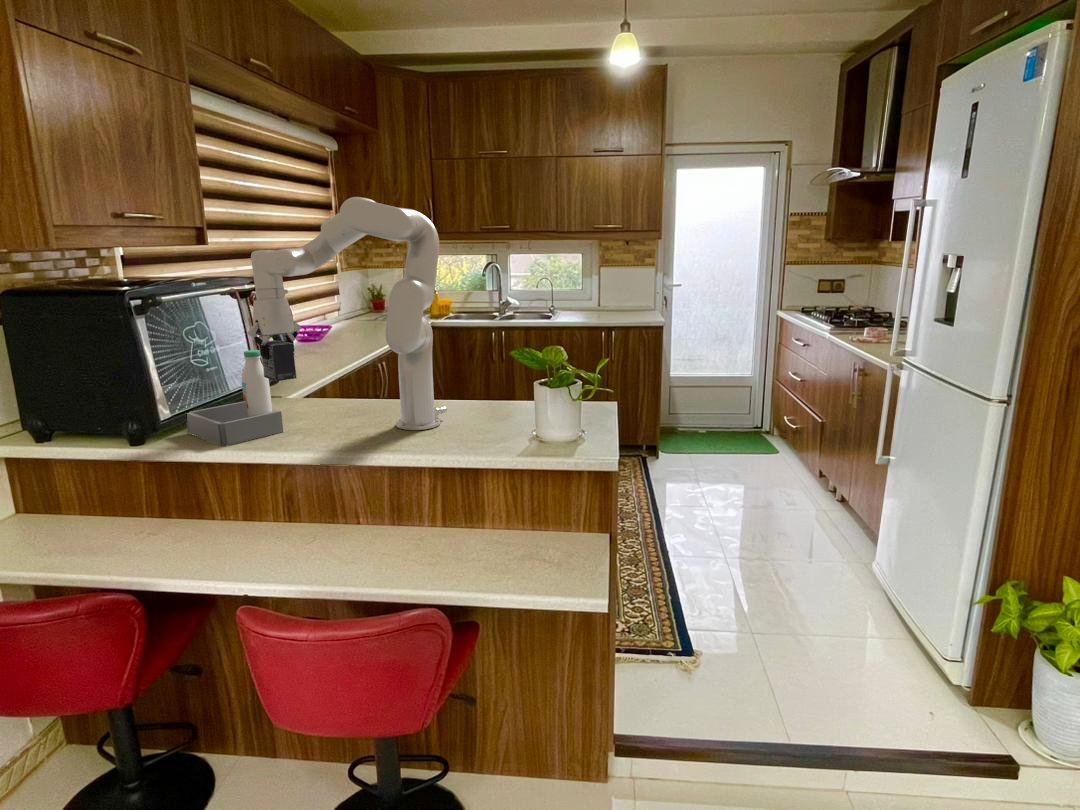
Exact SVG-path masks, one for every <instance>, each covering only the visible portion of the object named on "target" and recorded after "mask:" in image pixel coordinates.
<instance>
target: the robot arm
mask: <svg viewBox="0 0 1080 810" xmlns="http://www.w3.org/2000/svg"><path fill="white" fill-rule="evenodd" d="M367 235H368V236H373V237H376V238H381V239H384V240H388V241H392V242H407V243H408V251H407V254H406V258H405V270H404V275H403V278H401V279H399V280H398V281H396V283H394V285H393V286H392V288H391V291H390V293H389V298H388V305H387V306H388V307H387V313H386V314H387V315H386V324H385V341H386V344H387V345H388V347H389V349H391V351H393V352H394V353H395V354H398V357H397V362H398V363H397V365H398V366H397V367H398V368H397V369H398V370H397V371H398V385H399V400H400V401H399V402H400V415H401V416H400V417H401V418H400V419H398V420H397V421H396V423H395V425H396V427H397V428H398V429H401V430H406V431H407V430H408V431H423V430H429V429H430V430H431V429H433V428H437V427H438V426H440V424H441V419H440V418H439V417H438V416H439V415H443V414H445V413H447V412H448V409H447V407H446V406H445V405H444V406H440V407H437V406H435V397H434V376H433V375H434V374H433V345H434V344H433V342H434V333H433V329H432V325H431V324H430V322H429V321H428V319H427V318H425V317H424V311H425V310H427V309H428V308H430V307H431V305H432V304H433V302H434V299H435V288H436V280H437V272H438V261H439V252H440V238H439V234H438V231H437V228H436V227H435V225H434V223H433V222H432V221H431V220H430V219H429V218H428V217H427V216H426V215H424V214H423V213H421V212H420V211H417V210H415V209H411V208H403V207H396V206H393V205H388V204H384V203H379V202H376V201H375V200H373V199H370V198H367V197H360V196H353V197H350V198H347V199H346V200H345V201H343V203H342V204H341V206H340V208H339V212H337V213H336V214H335V215H333V216H332V217H330V218H329V219H327V220H325V221H323V223H322V224H321V225H320V232H319V234H318V235H317V236H316V237H315V238H314V239H312V240H310V241H309V242H307V243H306V244H304V245H302V246H301V247H299V248H298V247H295V248H291V247H290V248H282V249H277V250H273V249H266V250H265V249H264V250H261V249H260V250H255V251H252V252H251V255H250V260H251V267H252V275H253V283H254V288H255V289H254V291H255V296H256V300H254V301H253V305H252V318H253V319H252V323H253V324H252V326H251V327H250V328H249V330H247V333H246V334H247V336H248V337H249V338H250V339H251V340H252V341H254V342H255V343H256V345H257V346H259V347H258V348H259V351H260V357H261V359H269V358H270V357H269V349H268V345H266V342H267V341H268V339H269V336H277V335H283V337H284V338H285V342H289V343H293V350H294V351H295V346H294V345H295V344H294V342H295V340H296V338H297V336H298V335H299V332H300V331H301V329H302V326H301V325H300V324H299V323H297V322H296V321H295V320H293V315H292V310H291V307H290V304H289V301H288V298H286V295H289V291H288V289H287V288H286V289H285V287H284V281H283V280H284V279H283V277H296V276H305V275H309V274H311V273H313V272H314V271H316V270H318V269H319V268H321V267H322V266H324V265H325V264H328V263H329V262H331V260H333V259H334V258H335V257H337V255H339V254H340V253H341V251H342V250H345V249H346V248H347V247H350V246H351V245H353V244H354V243H355V242H357V241H359V240H361V239H362V238H364V237H365V236H367Z"/></svg>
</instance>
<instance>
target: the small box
mask: <svg viewBox="0 0 1080 810" xmlns="http://www.w3.org/2000/svg"><path fill="white" fill-rule="evenodd" d="M285 341H286V340H285ZM285 341H284V340H270V341H268V340H267V342H266V345H268V349H269V357H270V358H269V359H262V358H261V359H262V365H263V369H264V377H266V378H268V379H269V380H271V381H274V382H280V381H286V380H287V381H288V380H294V379H297V369H296V362H295V349H294V350H293V343H294V342H293V343H289V342H285Z"/></svg>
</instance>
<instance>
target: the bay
mask: <svg viewBox="0 0 1080 810" xmlns="http://www.w3.org/2000/svg"><path fill="white" fill-rule="evenodd" d="M185 424H186V430H187V433H188V432H189V433H191V434H194V435H196V436H198V437H200V438H199V439H201V438H203V439H202V440H204V439H205V441H206V440H208V441H207V442H209V441H210V442H209V443H212V442H213V443H212V444H214V443H215V445H217V444H218V445H217V446H220V445H221V446H220V447H222V446H224V447H228V446H232V445H236V444H240V442H241V443H245V442H248V440H249V441H253V440H256V438H257V439H260V437H261V438H264V437H263V436H265V437H269V436H272V434H274V435H276V433H278V434H281V433H280V432H282V433H284V425H283V415H282V410H277V411H272V412H271V413H266V414H262V415H257V416H252V417H248V411H247V402H246V401H244V400H243V401H238V402H232V403H227V404H223V405H218V406H217V405H216V406H213V407H207V408H201V409H197V410H193V411H189V413H187V423H186V422H185ZM268 435H269V436H268ZM196 436H195V437H196ZM198 437H197V438H198ZM252 439H253V440H252ZM244 441H245V442H244ZM231 444H232V445H231ZM227 445H228V446H227Z"/></svg>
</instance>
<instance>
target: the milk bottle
mask: <svg viewBox="0 0 1080 810" xmlns="http://www.w3.org/2000/svg"><path fill="white" fill-rule="evenodd" d="M243 356H244V359H245V363H244V367H243V370H242V373H241V388H242V397H243V401H246V402H247V411H248V417H252V416H257V415H262V414H266V413H271V412H273V406H272V396H271V389H270V388H271V387H270V381H269V380H270V379H268V378H266V377H264V369H263V362H262V361H261V355H260V349H249V350H245V351H243Z"/></svg>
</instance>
